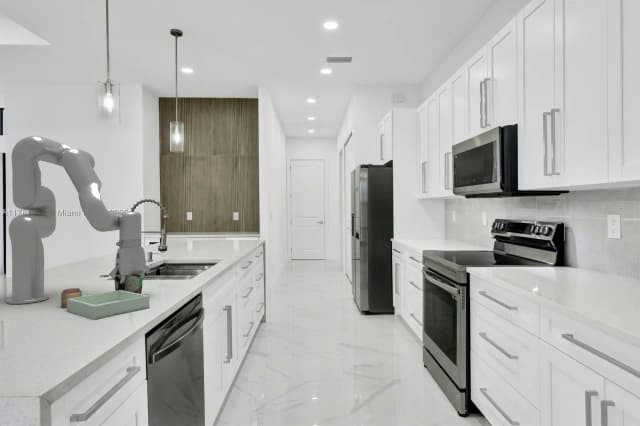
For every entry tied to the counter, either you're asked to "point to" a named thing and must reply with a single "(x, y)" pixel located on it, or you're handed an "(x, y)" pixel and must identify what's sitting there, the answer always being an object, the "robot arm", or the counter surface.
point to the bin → (107, 304)
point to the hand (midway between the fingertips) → (130, 291)
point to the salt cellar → (69, 295)
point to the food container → (132, 283)
